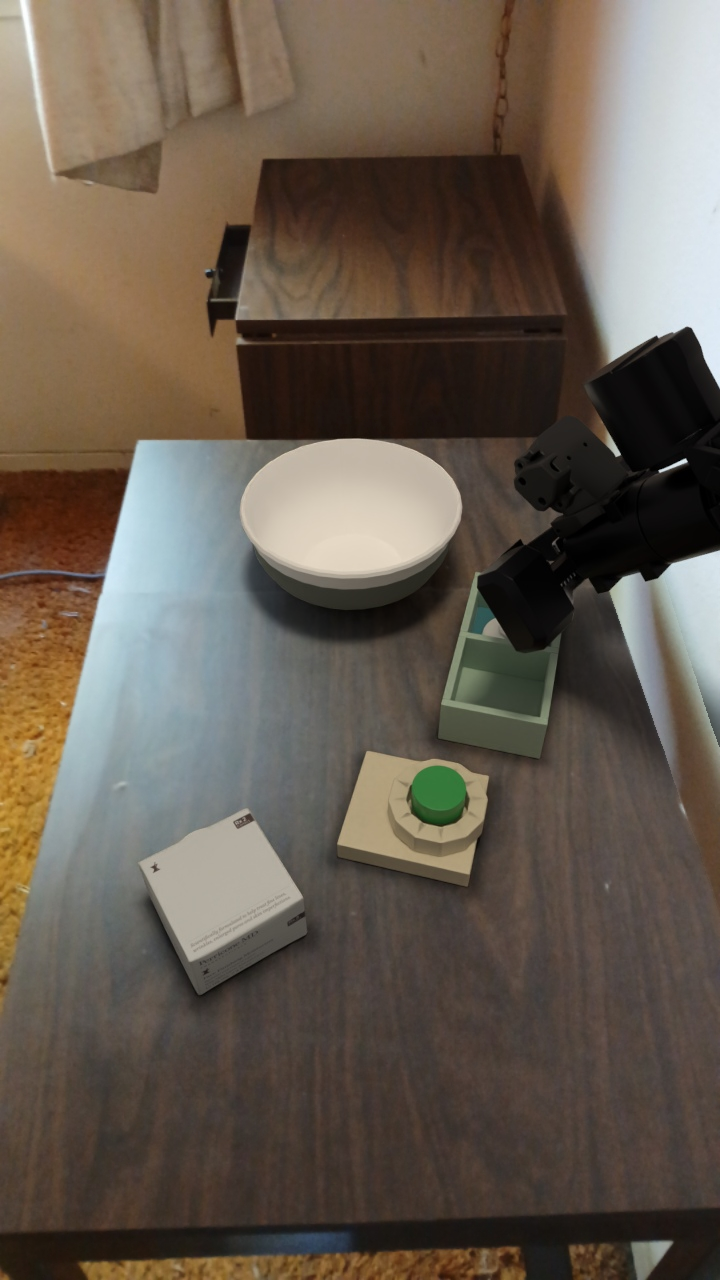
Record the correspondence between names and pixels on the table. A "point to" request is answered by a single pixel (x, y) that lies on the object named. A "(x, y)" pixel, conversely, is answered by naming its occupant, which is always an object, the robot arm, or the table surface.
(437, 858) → the beige button base
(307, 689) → the table surface
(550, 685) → the green divided tray
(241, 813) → the small box
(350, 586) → the bowl
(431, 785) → the button
